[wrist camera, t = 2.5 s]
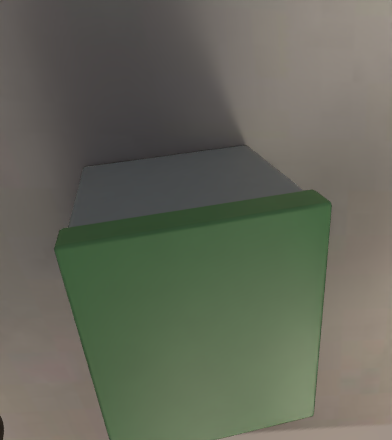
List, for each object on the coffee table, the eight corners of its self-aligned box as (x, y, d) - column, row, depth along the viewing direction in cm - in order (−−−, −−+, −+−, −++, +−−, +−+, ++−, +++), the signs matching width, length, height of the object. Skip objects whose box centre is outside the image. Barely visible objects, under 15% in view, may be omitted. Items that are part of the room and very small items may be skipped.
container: (253, 300, 14) (314, 416, 10) (116, 327, 14) (115, 465, 9) (250, 140, 12) (333, 202, 7) (78, 163, 11) (52, 247, 6)
